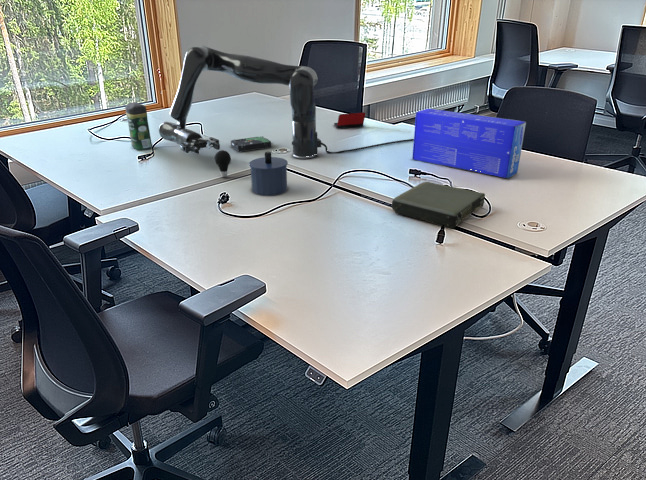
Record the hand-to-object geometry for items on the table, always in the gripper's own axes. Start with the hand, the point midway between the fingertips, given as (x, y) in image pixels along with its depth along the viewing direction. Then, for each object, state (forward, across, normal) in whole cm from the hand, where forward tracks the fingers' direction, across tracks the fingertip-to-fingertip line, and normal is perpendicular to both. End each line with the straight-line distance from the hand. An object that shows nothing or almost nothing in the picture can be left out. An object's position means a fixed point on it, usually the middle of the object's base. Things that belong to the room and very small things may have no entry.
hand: (208, 149), depth 217 cm
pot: (+32, +6, +8) cm, 34 cm away
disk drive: (-17, +28, +8) cm, 34 cm away
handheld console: (-16, +81, +8) cm, 83 cm away
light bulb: (+11, 0, +8) cm, 14 cm away
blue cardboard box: (+56, +76, +8) cm, 95 cm away
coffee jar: (-48, -8, +9) cm, 49 cm away
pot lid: (+32, +6, -1) cm, 33 cm away
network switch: (+81, +36, +8) cm, 89 cm away
